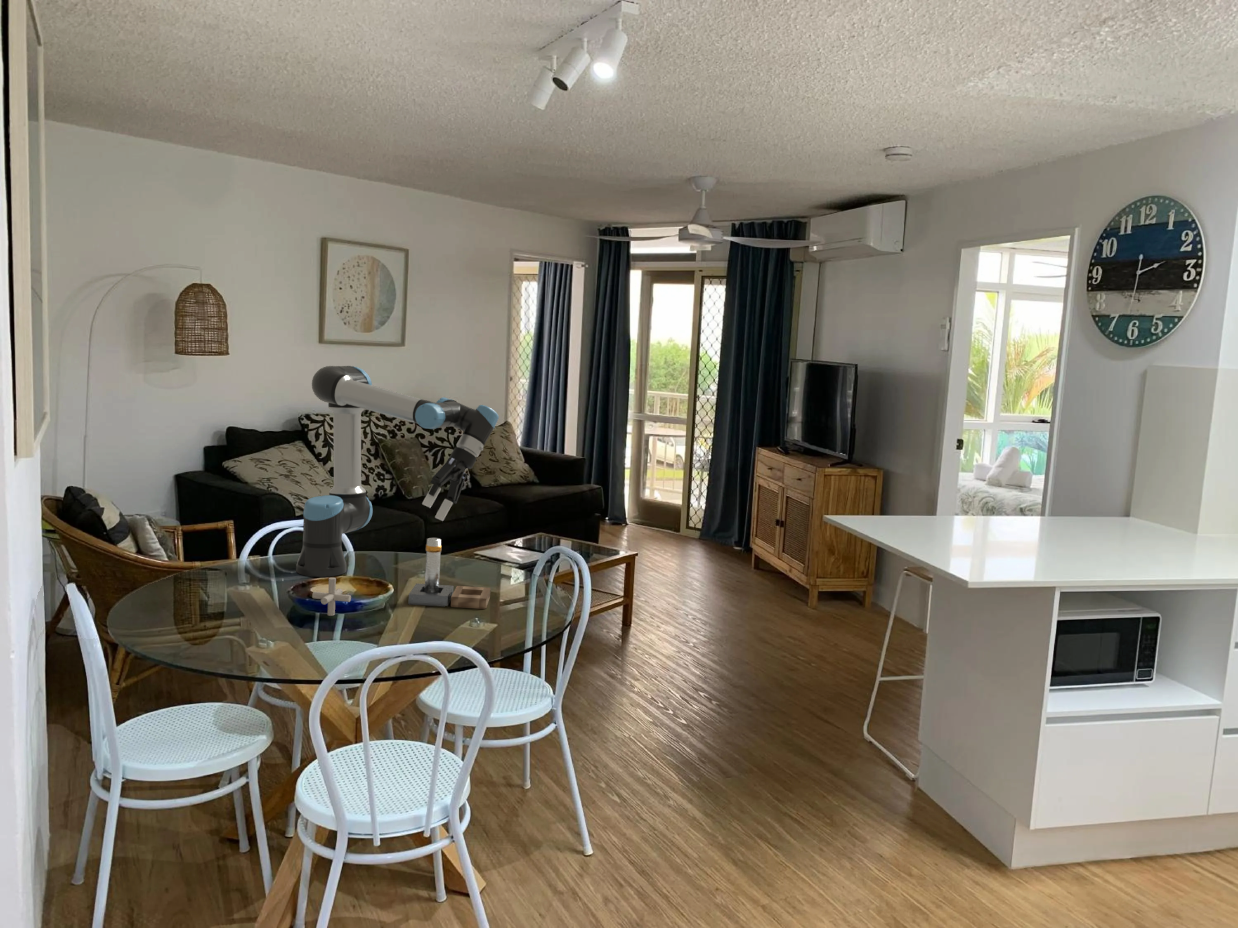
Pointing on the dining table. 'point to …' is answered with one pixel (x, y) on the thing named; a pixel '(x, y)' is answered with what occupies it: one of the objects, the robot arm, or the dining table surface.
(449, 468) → the robot arm
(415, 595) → the socket block
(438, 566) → the silver banded cylinder
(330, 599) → the pipe connector
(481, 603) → the block
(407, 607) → the dining table surface
